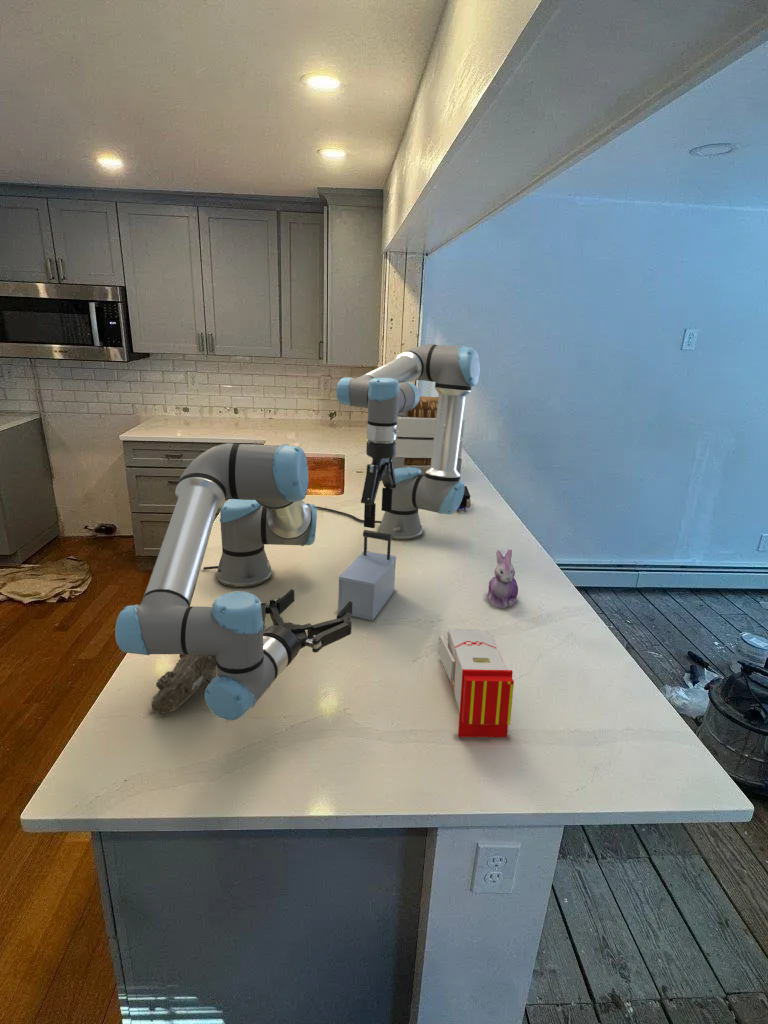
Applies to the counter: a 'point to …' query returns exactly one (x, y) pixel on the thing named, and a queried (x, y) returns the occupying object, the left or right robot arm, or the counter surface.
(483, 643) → the toy
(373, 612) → the chest
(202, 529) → the left robot arm
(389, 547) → the door
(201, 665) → the fossil
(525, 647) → the counter surface
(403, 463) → the light grey slatted box
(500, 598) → the figurine
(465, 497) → the figurine character
